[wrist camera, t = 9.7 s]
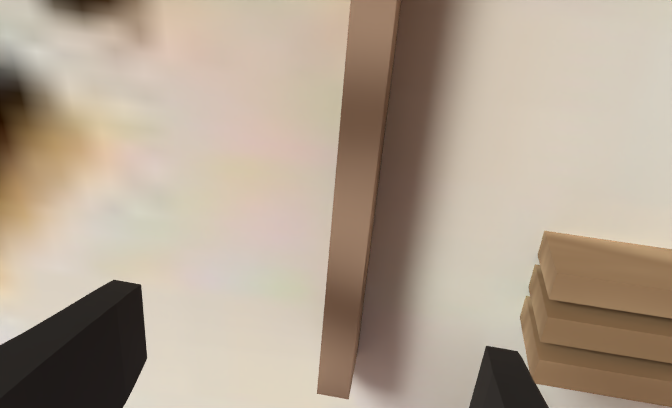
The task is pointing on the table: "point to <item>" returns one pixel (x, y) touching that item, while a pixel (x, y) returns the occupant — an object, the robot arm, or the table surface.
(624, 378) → the offcut stack
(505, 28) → the table surface
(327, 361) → the rack
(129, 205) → the table surface
